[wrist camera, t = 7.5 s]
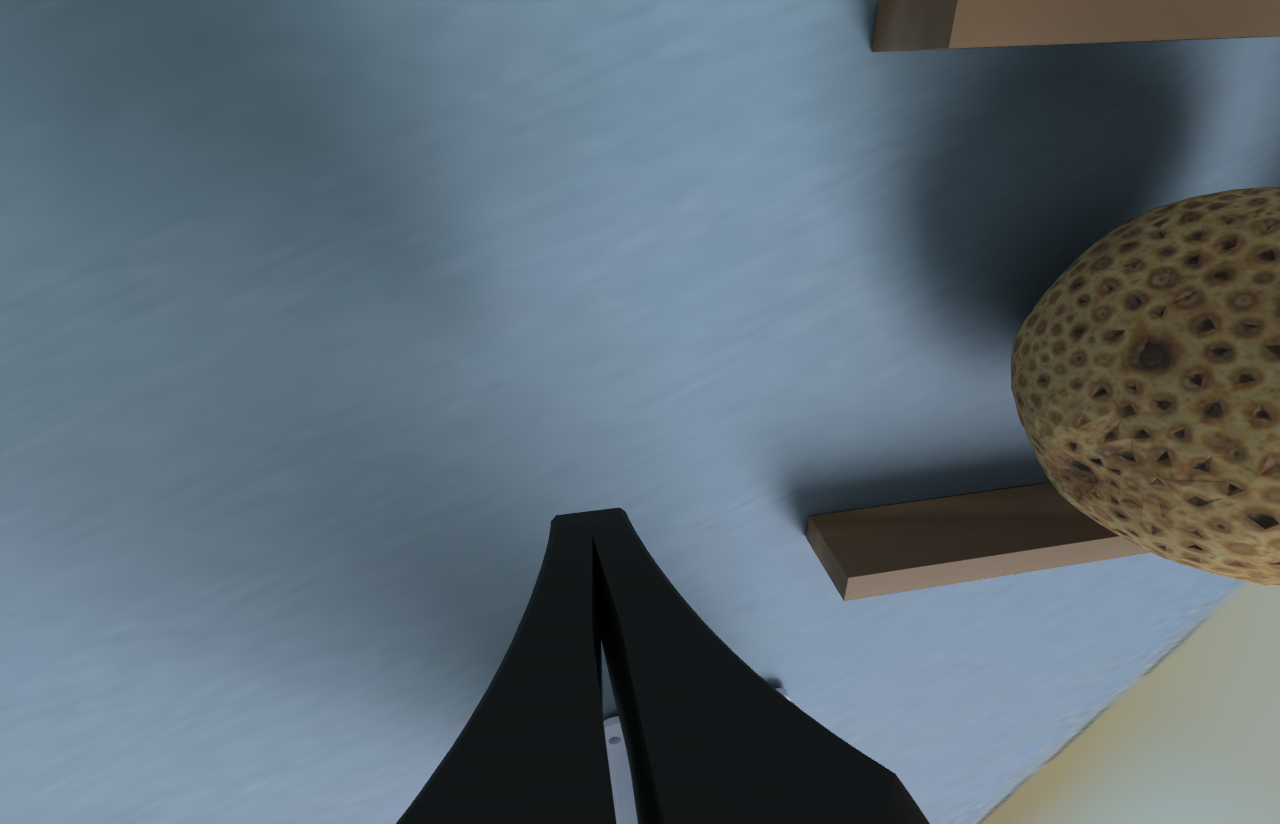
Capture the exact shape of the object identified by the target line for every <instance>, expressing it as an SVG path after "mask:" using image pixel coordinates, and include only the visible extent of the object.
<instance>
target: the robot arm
mask: <svg viewBox="0 0 1280 824" xmlns="http://www.w3.org/2000/svg"><path fill="white" fill-rule="evenodd" d="M601 641H602V645H603V650H604V654H605V658H606V663H607V667H608V672H609V676H610V681H611V685H612V689H613V694H614V698H615V702H616V707H617V711H618V716H616V717H611V718H608V719H606V720H605V721H604V722H603V691H602V656H601ZM396 824H929V822H928V820H927V819H926V817H925V816H924V814H923V813H922V811H921V810H920V809H919V807H918V806H917V804H916V803H915V801H914V800H913V798H912V797H911V795H910V794H909V792H908V791H907V790H906V788H905V787H904V785H903V784H902V782H901V781H900V780H899V778H898V777H897V776H896V774H895V773H893V772H891V771H890V770H888V769H887V768H885V767H884V766H882V765H881V764H879V763H877V762H876V761H874V760H873V759H871V758H870V757H868V756H866V755H865V754H863V753H862V752H860V751H859V750H857V749H855V748H854V747H852V746H851V745H850V744H848V743H847V742H845V741H844V740H842V739H841V738H839V737H838V736H836V735H835V734H833V733H832V732H831V731H829V730H828V729H827V728H825V727H824V726H822V725H821V724H820V723H818V722H817V721H816V720H814V719H813V718H812V717H810V716H809V715H807V714H806V713H805V712H803V711H802V710H801V709H799V708H798V707H797V706H796V705H795V704H793V703H792V702H791V700H790V696H789V694H788V692H787V691H786V690H785V689H782V688H776V689H775V688H774V687H773V686H771V685H770V684H769V683H768V682H766V681H765V680H764V679H763V678H761V677H760V676H759V675H758V674H757V673H756V672H754V671H753V670H752V669H751V668H750V667H749V666H748V665H747V664H746V663H745V662H744V661H742V660H741V659H740V658H739V657H738V656H737V655H736V654H735V653H734V652H733V651H732V650H731V649H730V648H729V647H728V646H727V645H726V644H725V643H724V642H723V641H722V640H721V639H720V638H719V637H718V636H717V635H716V634H715V633H714V632H713V631H712V630H711V629H710V628H709V627H708V626H707V625H706V624H705V623H704V622H703V620H702V619H701V618H700V617H699V616H698V615H697V614H696V613H695V611H694V610H693V609H692V608H691V607H690V606H689V604H688V603H687V602H686V601H685V600H684V599H683V597H682V596H681V595H680V594H679V593H678V591H677V590H676V589H675V588H674V586H673V585H672V584H671V582H670V581H669V580H668V578H667V577H666V576H665V574H664V573H663V572H662V570H661V569H660V568H659V566H658V565H657V564H656V562H655V561H654V559H653V558H652V557H651V555H650V554H649V552H648V551H647V549H646V547H645V546H644V544H643V543H642V541H641V540H640V538H639V536H638V535H637V533H636V531H635V530H634V528H633V526H632V524H631V522H630V520H629V518H628V516H627V514H626V512H625V511H624V510H622V509H621V508H613V509H605V510H597V511H588V512H580V513H572V514H564V515H556V516H555V518H554V519H553V520H552V521H551V529H550V535H549V540H548V545H547V549H546V553H545V556H544V560H543V563H542V567H541V570H540V573H539V576H538V578H537V581H536V584H535V587H534V590H533V593H532V596H531V598H530V601H529V603H528V606H527V608H526V611H525V613H524V615H523V618H522V620H521V622H520V624H519V627H518V629H517V631H516V634H515V636H514V638H513V640H512V643H511V645H510V647H509V649H508V651H507V653H506V655H505V657H504V659H503V661H502V663H501V665H500V667H499V669H498V670H497V672H496V674H495V676H494V678H493V680H492V682H491V684H490V685H489V687H488V689H487V691H486V692H485V694H484V696H483V697H482V699H481V701H480V702H479V704H478V706H477V708H476V709H475V711H474V713H473V714H472V716H471V718H470V719H469V721H468V723H467V724H466V726H465V727H464V729H463V731H462V732H461V734H460V735H459V737H458V738H457V740H456V741H455V743H454V744H453V746H452V747H451V749H450V750H449V752H448V753H447V754H446V756H445V757H444V759H443V760H442V762H441V763H440V764H439V766H438V767H437V769H436V770H435V772H434V773H433V774H432V776H431V777H430V779H429V780H428V781H427V783H426V784H425V786H424V787H423V789H422V790H421V791H420V793H419V794H418V796H417V797H416V798H415V800H414V801H413V802H412V804H411V805H410V806H409V808H408V809H407V810H406V812H405V813H404V814H403V815H402V817H401V818H400V819H399V820H398V822H397V823H396Z"/></svg>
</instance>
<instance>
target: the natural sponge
mask: <svg viewBox="0 0 1280 824" xmlns="http://www.w3.org/2000/svg"><path fill="white" fill-rule="evenodd" d="M1011 388H1012V391H1013V395H1014V398H1015V402H1016V407H1017V411H1018V415H1019V418H1020V421H1021V424H1022V426H1023V427H1024V429H1025V431H1026V433H1027V435H1028V438H1029V440H1030V442H1031V445H1032V447H1033V449H1034V452H1035V454H1036V457H1037V460H1038V462H1039V463H1040V465H1041V467H1042V469H1043V471H1044V472H1045V474H1046V476H1047V477H1048V478H1049V480H1050V481H1051V483H1052V484H1053V485H1054V487H1055V488H1056V490H1057V491H1058V492H1059V493H1060V494H1061V495H1062V496H1063V497H1064V498H1065V499H1066V500H1068V501H1069V502H1070V503H1071V504H1072V505H1073V506H1075V507H1076V508H1077V509H1079V510H1080V511H1081V512H1083V513H1084V514H1085V515H1087V516H1088V517H1090V518H1092V519H1093V520H1095V521H1096V522H1098V523H1099V524H1101V525H1102V526H1104V527H1105V528H1107V529H1109V530H1110V531H1112V532H1114V533H1116V534H1117V535H1119V536H1121V537H1123V538H1125V539H1126V540H1128V541H1130V542H1132V543H1134V544H1136V545H1138V546H1140V547H1142V548H1144V549H1146V550H1148V551H1150V552H1152V553H1154V554H1156V555H1158V556H1161V557H1164V558H1166V559H1169V560H1172V561H1174V562H1177V563H1180V564H1184V565H1187V566H1191V567H1194V568H1198V569H1201V570H1204V571H1207V572H1210V573H1214V574H1218V575H1222V576H1226V577H1230V578H1234V579H1239V580H1244V581H1249V582H1254V583H1259V584H1264V585H1280V187H1278V188H1250V189H1237V190H1228V191H1223V192H1218V193H1212V194H1207V195H1202V196H1197V197H1192V198H1188V199H1185V200H1182V201H1179V202H1176V203H1172V204H1169V205H1165V206H1160V207H1156V208H1154V209H1152V210H1150V211H1148V212H1146V213H1144V214H1142V215H1140V216H1138V217H1136V218H1134V219H1132V220H1130V221H1128V222H1126V223H1124V224H1122V225H1121V226H1119V227H1117V228H1115V229H1114V230H1112V231H1111V232H1109V233H1108V234H1106V235H1105V236H1103V237H1102V238H1100V239H1099V240H1097V241H1096V242H1095V243H1094V244H1093V245H1092V246H1090V247H1089V248H1088V249H1087V250H1085V251H1084V252H1083V253H1082V254H1081V255H1080V256H1079V257H1078V258H1077V259H1076V260H1075V261H1074V262H1073V263H1072V264H1071V265H1070V266H1069V267H1068V268H1067V269H1066V271H1065V272H1064V273H1063V274H1062V275H1061V276H1060V277H1059V278H1058V279H1057V280H1056V281H1055V282H1054V283H1053V284H1052V286H1051V287H1050V288H1049V289H1048V290H1047V291H1046V292H1045V293H1044V295H1043V296H1042V297H1041V299H1040V300H1039V302H1038V303H1037V304H1036V306H1035V307H1034V308H1033V310H1032V311H1031V313H1030V314H1029V315H1028V316H1027V318H1026V319H1025V321H1024V322H1023V324H1022V326H1021V328H1020V330H1019V332H1018V334H1017V336H1016V338H1015V340H1014V343H1013V350H1012V356H1011Z"/></svg>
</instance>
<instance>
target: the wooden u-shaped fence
mask: <svg viewBox="0 0 1280 824" xmlns="http://www.w3.org/2000/svg"><path fill="white" fill-rule="evenodd" d="M1278 36H1280V0H880V1H879V4H878V11H877V19H876V26H875V33H874V41H873V48H872V52H882V51H909V50H935V49H961V48H988V47H1014V46H1040V45H1067V44H1093V43H1119V42H1146V41H1172V40H1199V39H1225V38H1251V37H1278ZM806 539H807V540H808V542H809V544H810V545H811V547H812V549H813V550H814V552H815V554H816V555H817V557H818V558H819V560H820V562H821V563H822V565H823V567H824V568H825V570H826V572H827V573H828V575H829V577H830V578H831V580H832V582H833V583H834V585H835V587H836V588H837V590H838V592H839V593H840V595H841V597H842V598H843V600H844V601H847V600H854V599H860V598H866V597H873V596H879V595H885V594H891V593H898V592H904V591H910V590H917V589H923V588H929V587H936V586H942V585H948V584H955V583H961V582H967V581H974V580H980V579H986V578H992V577H999V576H1005V575H1011V574H1018V573H1024V572H1030V571H1037V570H1043V569H1049V568H1056V567H1062V566H1068V565H1074V564H1081V563H1087V562H1093V561H1100V560H1106V559H1112V558H1119V557H1125V556H1131V555H1138V554H1144V553H1150V551H1148V550H1146V549H1144V548H1142V547H1140V546H1138V545H1136V544H1134V543H1132V542H1130V541H1128V540H1126V539H1125V538H1123V537H1121V536H1119V535H1117V534H1116V533H1114V532H1112V531H1110V530H1109V529H1107V528H1105V527H1104V526H1102V525H1101V524H1099V523H1098V522H1096V521H1095V520H1093V519H1092V518H1090V517H1088V516H1087V515H1085V514H1084V513H1083V512H1081V511H1080V510H1079V509H1077V508H1076V507H1075V506H1073V505H1072V504H1071V503H1070V502H1069V501H1068V500H1066V499H1065V498H1064V497H1063V496H1062V495H1061V494H1060V493H1059V492H1058V491H1057V490H1056V488H1055V487H1054V485H1053V484H1052V483H1045V484H1037V485H1030V486H1023V487H1016V488H1009V489H1001V490H994V491H987V492H980V493H972V494H965V495H958V496H951V497H944V498H936V499H929V500H922V501H915V502H908V503H900V504H893V505H886V506H879V507H872V508H864V509H857V510H850V511H843V512H836V513H828V514H821V515H814V516H809V521H808V528H807V535H806Z"/></svg>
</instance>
